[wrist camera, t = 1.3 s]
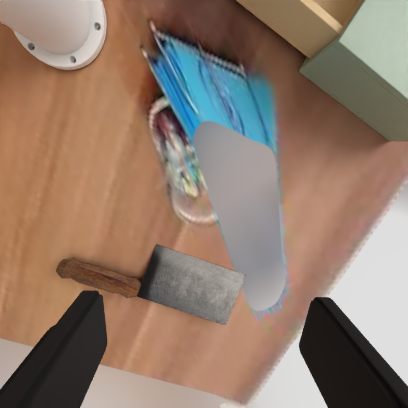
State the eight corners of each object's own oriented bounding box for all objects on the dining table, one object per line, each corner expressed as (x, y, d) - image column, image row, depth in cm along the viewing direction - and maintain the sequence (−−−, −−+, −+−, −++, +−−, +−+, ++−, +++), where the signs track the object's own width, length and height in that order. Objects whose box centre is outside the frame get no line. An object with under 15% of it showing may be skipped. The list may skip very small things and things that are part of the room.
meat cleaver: (245, 274, 39) (250, 288, 35) (223, 316, 42) (226, 333, 38) (78, 217, 35) (63, 225, 31) (66, 267, 38) (51, 281, 34)
